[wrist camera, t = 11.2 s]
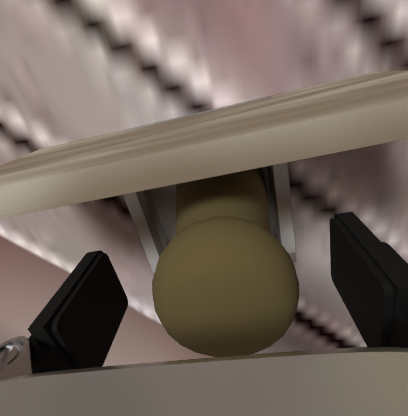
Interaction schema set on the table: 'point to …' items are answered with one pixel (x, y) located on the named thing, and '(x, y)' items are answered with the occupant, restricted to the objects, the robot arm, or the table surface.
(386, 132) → the wall board holder
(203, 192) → the olive rounded piece
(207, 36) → the table surface
